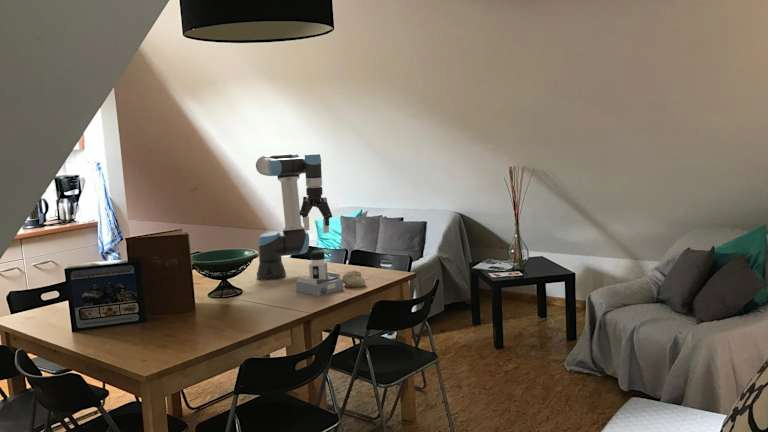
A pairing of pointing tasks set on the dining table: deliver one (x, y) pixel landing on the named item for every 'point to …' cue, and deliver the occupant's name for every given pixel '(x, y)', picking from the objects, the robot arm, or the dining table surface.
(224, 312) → the dining table surface
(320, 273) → the container
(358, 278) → the decorative item
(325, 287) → the grey low rectangular block
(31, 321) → the dining table surface
